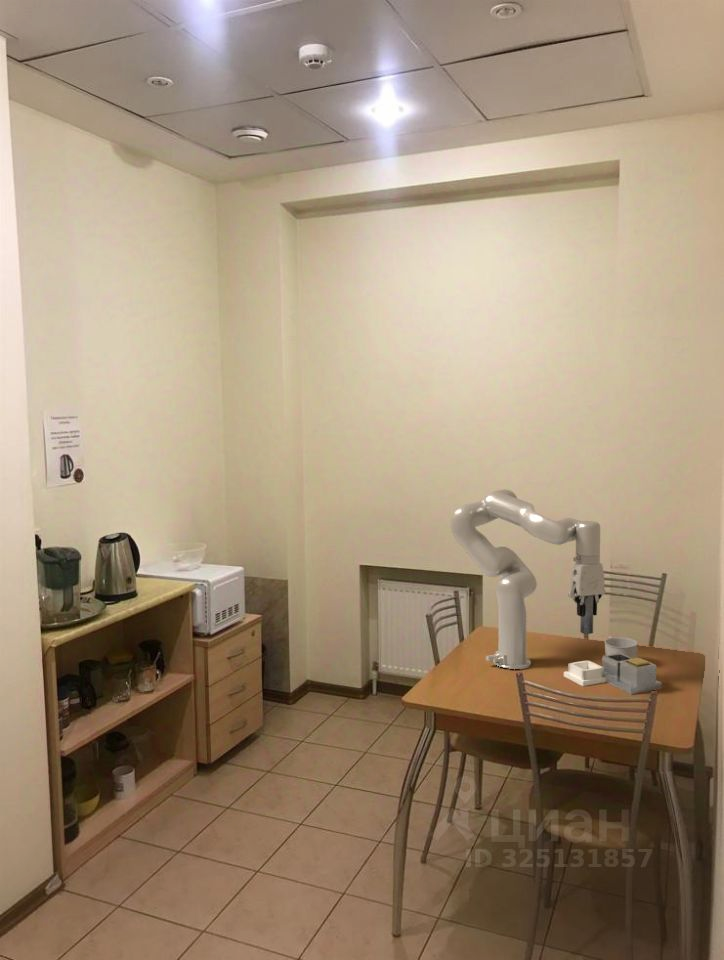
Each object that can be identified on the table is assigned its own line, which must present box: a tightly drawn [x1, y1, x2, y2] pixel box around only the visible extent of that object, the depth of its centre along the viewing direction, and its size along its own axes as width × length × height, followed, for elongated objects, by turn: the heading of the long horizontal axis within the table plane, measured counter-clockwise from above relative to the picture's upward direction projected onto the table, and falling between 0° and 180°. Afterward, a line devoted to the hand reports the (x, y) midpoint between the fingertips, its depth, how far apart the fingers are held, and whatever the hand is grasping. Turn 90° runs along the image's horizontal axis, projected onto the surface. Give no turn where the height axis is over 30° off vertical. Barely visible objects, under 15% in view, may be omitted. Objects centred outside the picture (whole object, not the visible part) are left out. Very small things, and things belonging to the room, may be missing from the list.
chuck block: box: [601, 653, 663, 695], centre depth 249 cm, size 12×17×8 cm
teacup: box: [604, 635, 639, 658], centre depth 268 cm, size 14×11×8 cm
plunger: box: [628, 657, 650, 667], centre depth 244 cm, size 4×4×6 cm
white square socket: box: [563, 659, 606, 687], centre depth 253 cm, size 10×10×4 cm
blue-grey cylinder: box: [579, 595, 594, 635], centre depth 251 cm, size 4×4×15 cm
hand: (586, 614), depth 251 cm, fingers closed on blue-grey cylinder, 4 cm apart
